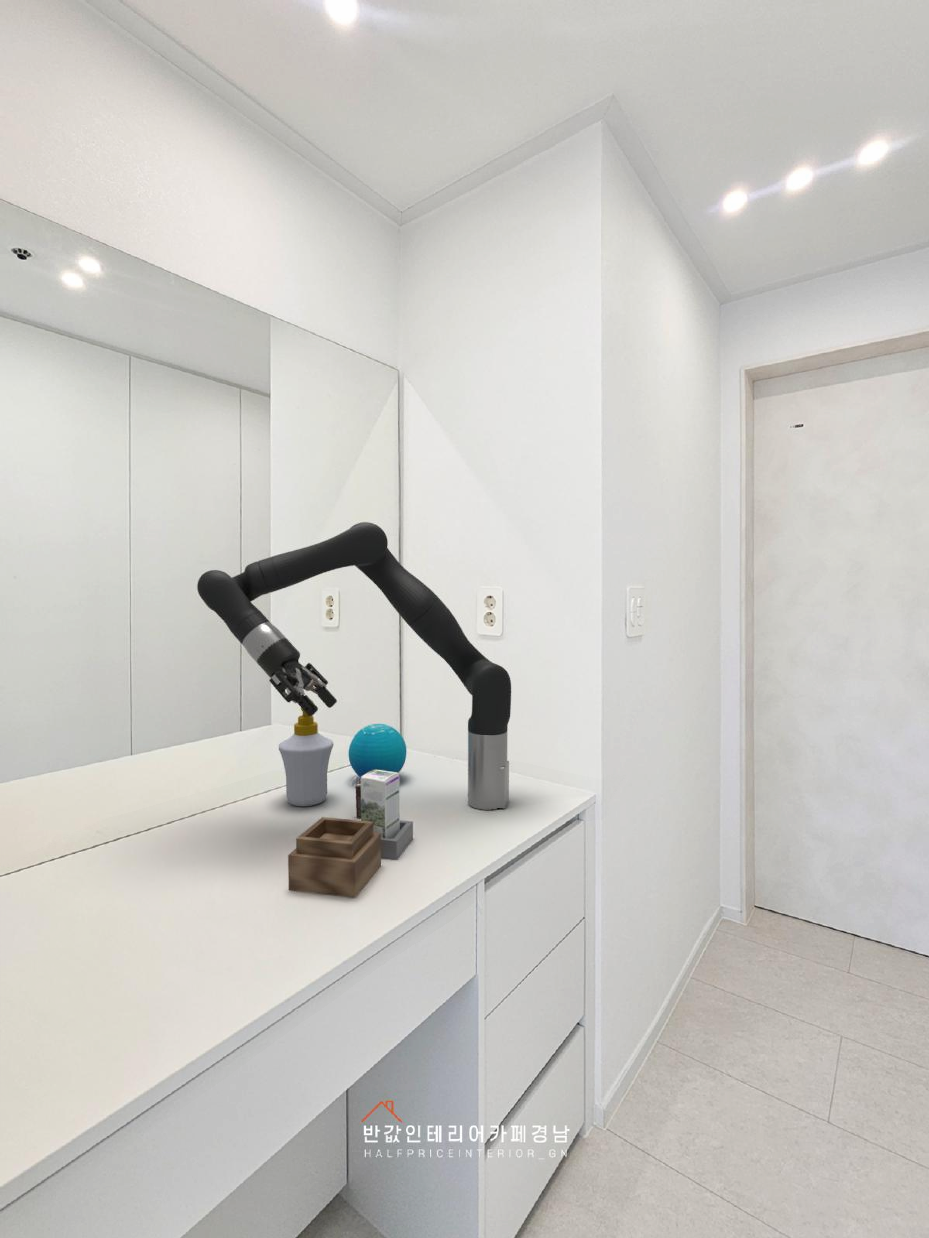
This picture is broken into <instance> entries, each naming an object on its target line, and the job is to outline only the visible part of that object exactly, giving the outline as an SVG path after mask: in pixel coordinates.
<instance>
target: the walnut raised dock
mask: <svg viewBox="0 0 929 1238" xmlns="http://www.w3.org/2000/svg"><path fill="white" fill-rule="evenodd" d="M295 843H296V844H295V845H296V846H295V849H293V850H291V852H290V853H288V855H287V860H288V861H287V862H288V863H287V869H288V890H290V891H296V892H306V893H313V894H321V895H322V894H323V895H330V896H337V897H338V896H339V897H347V898H354V899H355V898H356V897H357V896H358V895H359V894H360V892H361V891H362V890H363V889H364V887H365V886H367V884H368V882H369V881H370V880H371V879H372V877H373V876H374V875H375V874H376V873H377V871H378V870H379V869H380V868H381V866H382V858H381V833H374V828H373V822H372V821H361V819H360V820H358V819H350V818H349V819H348V818H346V819H345V818H336V817H326V816H321V818H320V819H318V820H317V821H315V823H313V824H312V825H311V826H310V827H308V829H306V830H305V831H304V832H302V833H301V834H300V835H298V837H296V838H295Z"/></svg>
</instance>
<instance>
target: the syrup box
mask: <svg viewBox="0 0 929 1238" xmlns="http://www.w3.org/2000/svg"><path fill="white" fill-rule="evenodd" d="M360 780H361V818H360V821H372V822H373V828H374V833H381V838H392V839H393V838H394V837H395V836H396V835H397V834H398V832H399V831H400V820H401V819H400V814H401V813H400V772H399V773H397V772H390V771H383V770H376V769H375V770H372V771H370V772H368V773H366V774H365V775H363V776H362V777H360Z"/></svg>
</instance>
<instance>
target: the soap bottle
mask: <svg viewBox="0 0 929 1238" xmlns="http://www.w3.org/2000/svg"><path fill="white" fill-rule="evenodd" d="M310 700H311V701H312V702H313V703H314V701H313V700H312V699H311V698H310ZM300 711H301V712H302V715H299V716H298V717H297V722H296V723H294V724H293V731H294V733H293V734H292V735H291V736H290V737H289V738H286V739H285V740H283V741H281V742H279V744H278V751H279V754H280V755H281V756H280V757H281V759H282V762H283V767H284V773H285V778H286V780H285V781H286V782H285V785H286V786H285V788H286V789H285V790H286V794H285V795H286V800H287V802H288V803H290V804H291V805H292V806H296V807H310V806H314V805H315V806H316V805H318V804H321V803H323V802H324V801H325V799H326V798H327V796H328V770H329V762H330V758H331V755H332V754H331V753H332V751H333V747H334V741H333V740H332V739H330V738H328V737H326V736H324V735H322V734H320V733H319V730H318V723H317V722H316V721H314V720H315V719H314V715H312V716H308V715H307V713H306V712H305V711H304V710H303V709H302V708H301V707H300Z"/></svg>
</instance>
